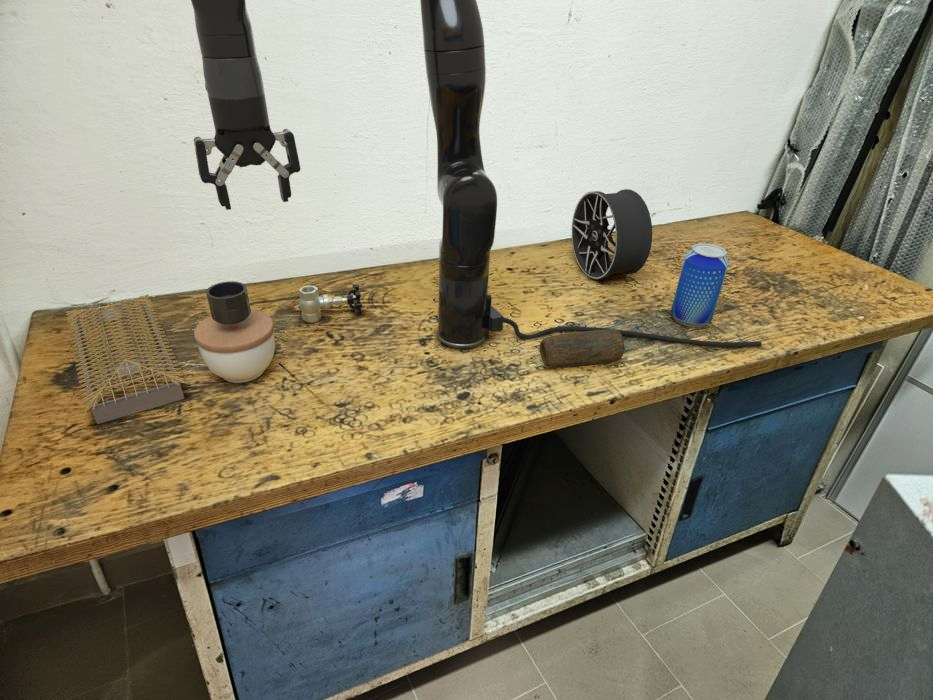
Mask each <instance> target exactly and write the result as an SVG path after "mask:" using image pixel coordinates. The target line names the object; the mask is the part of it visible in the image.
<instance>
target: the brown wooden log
mask: <svg viewBox="0 0 933 700" xmlns="http://www.w3.org/2000/svg"><path fill="white" fill-rule="evenodd" d="M614 329H615V328H608V329H605V330H593V331H583V332H582V331H573V332H567V333H560V334H554V335H551V336H547V337H544V338H543V339H541V341H540V342H539V348H538V350H539V355H540V358H541V361H542V363H543V366H544V367H545V368H551V369H568V368H569V369H570V368H571V369H573V368H578V367H579V368H580V367H591V366H592V367H593V366H600V365H605V364H611V363H615V362H618V361H620V360H622V358H623V356H624V352H625V342H624V341H625V340H624V336H623V335H622V334H621V333H620V332H619V331H617V330H618V329H617V330H614Z"/></svg>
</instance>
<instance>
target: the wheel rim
mask: <svg viewBox="0 0 933 700" xmlns="http://www.w3.org/2000/svg"><path fill="white" fill-rule="evenodd" d="M608 209H609V210H610V213H611V215H607V212H608ZM573 211H574V212H573V215H572V221H571V243H572V249H573V253H574V257H575V260H576V263H577V264H578V266H579V268H580V269H581V271H582V272H583V273H584V275H585V276H587V277H589V278H590V279H593V280H599V279H605V278H607V277H609V276H611V275H613V274H624V275H634V274H635V273H637V272H639V271H640V270H641V269H642V268H643V267H644V266H645V264H646V262H647V261H648V258H649V257H650V252H651V249H652V245H653V224H652V218H651V213H650V210H649V208H648V205H647V204H646V202H645V200H644V198H643V197H642V196H641V194H640V193H638V192H636V191H635V190H633V189H629V188H624V189H621V190H618V191H617V192H611V193H610V192H609V193H604V192H603V191H600V190H599V191H598V190H597V191H596V190H595V191H594V190H593V191H588V192H586V193H584V194H583V195H582V196H581V197H580V198H579V200H578V202H577V204H576V206H575V209H574V210H573ZM611 218H612V219H613V222H614V223H613V225H612V226H611V228H609V226H610V223H609V220H608V219H611ZM614 231H615V241H614V238H613V233H614ZM609 245H610V246H611V247H612V248H614V250H612V249H611V248H610V247H609ZM609 254H610V255H612V259H611V257H610V255H609Z"/></svg>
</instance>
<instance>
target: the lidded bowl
mask: <svg viewBox="0 0 933 700" xmlns="http://www.w3.org/2000/svg"><path fill="white" fill-rule="evenodd" d="M193 336H194V342H195V344H197V348H198V351H199V355H200V357H201V359H202V361H203V363H204V364H205V366H206V368H207V369H208V370H209V371H211V373H213V374H214V375H216V376H217V377H218V378H221V379H223V380H224V381H226V382H229V383H234V384H242V383H248V382H252V381H254V380H256V379H258V378H259V377H261V376H262V375H263V373H264V372H265V370H266V369H267V368H268V367H269V365H270V364H271V362H272V360H273V359H274V355H275V349H276V336H275V325H274V320H273V319H272V317H271V316H270V315H268V314H267V313H265V312H262V311H260V310H258V309H257V310H256V309H251V313H250V315H249V316H248V318H247V319H246V320H244V321H242V322H240V323H236V324H230V325H225V324H220V323H218V322H216V321H214V320H213V319H212V316H211V315H210V316H208V317H206V318H204V319H203V320H201V321H200V322H199V323H198V324H197V326H196V327H195V328H194V331H193Z"/></svg>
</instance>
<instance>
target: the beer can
mask: <svg viewBox="0 0 933 700" xmlns="http://www.w3.org/2000/svg"><path fill="white" fill-rule="evenodd" d="M727 255H728V252H727V250H726V249H725V248H723V247H722V246H719V245H717V244H713V243H708V242H707V243H706V242H705V243H704V242H701V243H695V244H693V245H692V246H691V249H690V250H689V251H688V252H686V254H685V255H684V258H683V263H682V266H681V270H680V274H679V277H678V282H677V284H676V290H675V293H674V297H673V300H672V305H671V309H670V312H671V315H672V317H673V320H674V321H675V322H676V323H677V324H680V325H682V326H685V327H688V328H695V329H697V328H703V327H705V326H706V325H707V324H709V323H710V322H712V321H713V318H714V315H715V311H716V308H717V304H718V301H719V297H720V296H721V292H722V288H723V284H724V282H725V278H726V274H727V272H728V268H729V264H730V263H729V260H728V256H727Z"/></svg>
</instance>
